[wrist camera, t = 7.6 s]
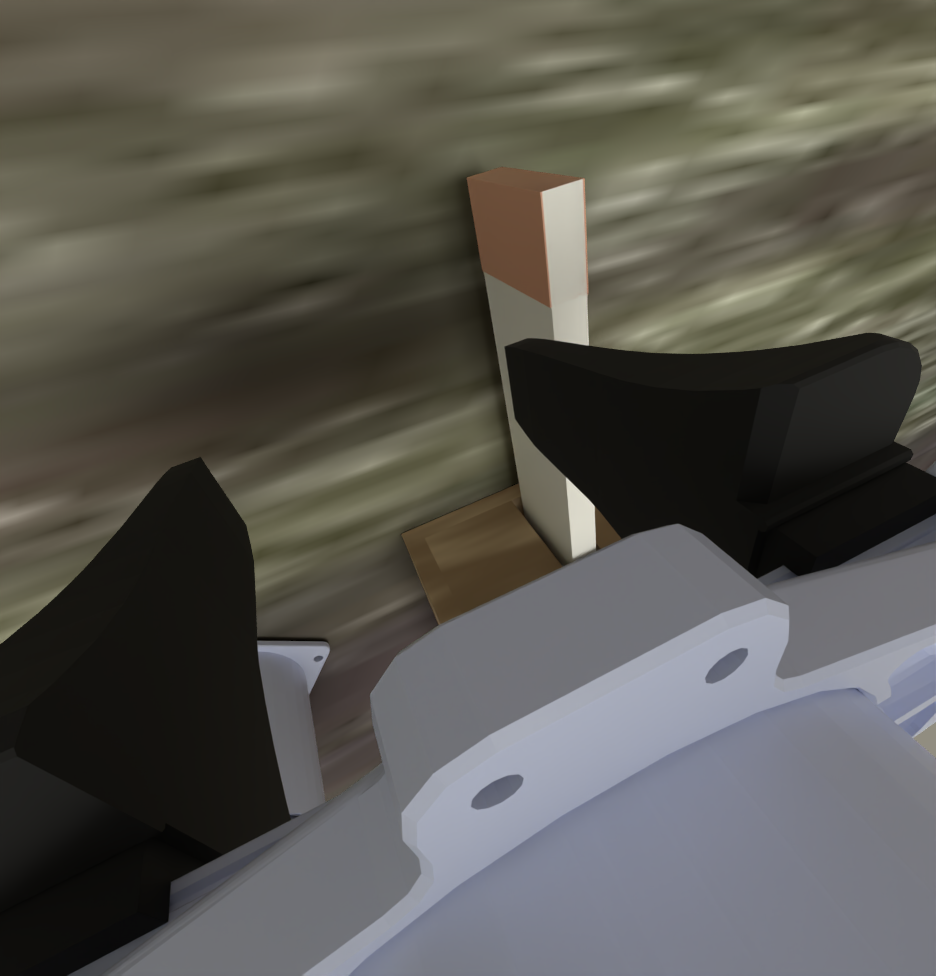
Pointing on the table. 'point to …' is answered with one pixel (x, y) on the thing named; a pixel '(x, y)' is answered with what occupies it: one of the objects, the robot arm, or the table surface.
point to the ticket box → (483, 553)
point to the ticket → (537, 319)
